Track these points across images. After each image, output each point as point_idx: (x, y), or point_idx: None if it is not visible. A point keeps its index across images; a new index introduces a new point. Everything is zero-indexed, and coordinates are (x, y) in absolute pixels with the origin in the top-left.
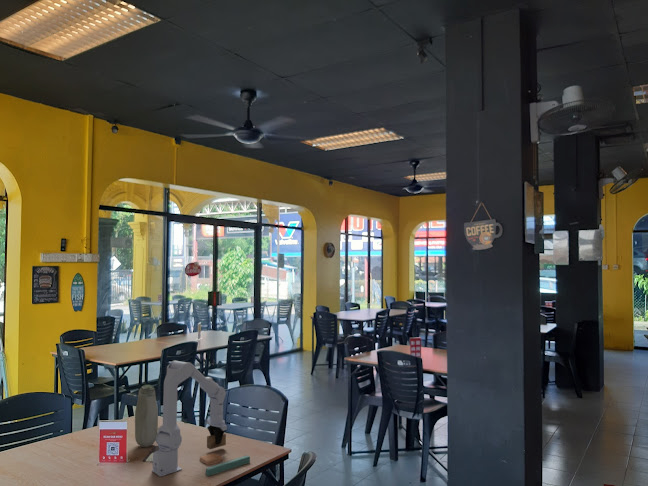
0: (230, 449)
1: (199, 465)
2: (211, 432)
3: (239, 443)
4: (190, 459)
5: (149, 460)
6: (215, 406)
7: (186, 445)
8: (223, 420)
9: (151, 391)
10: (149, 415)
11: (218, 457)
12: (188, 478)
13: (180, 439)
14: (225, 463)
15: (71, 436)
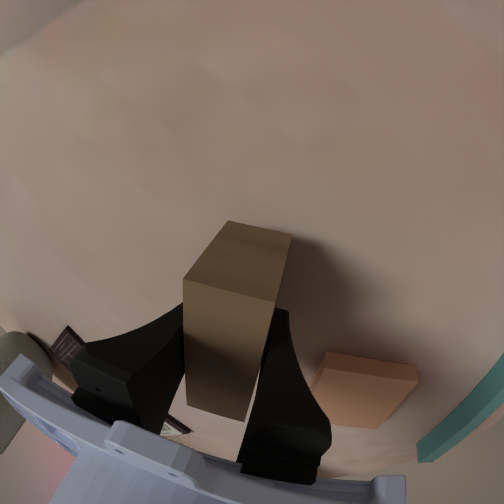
0: (341, 206)
1: (342, 426)
2: (171, 397)
3: (291, 45)
4: (251, 406)
5: (161, 435)
6: None
7: (76, 297)
8: (129, 454)
9: None
10: (2, 444)
11: (400, 392)
12: (377, 465)
13: None
14: (476, 423)
15: None
